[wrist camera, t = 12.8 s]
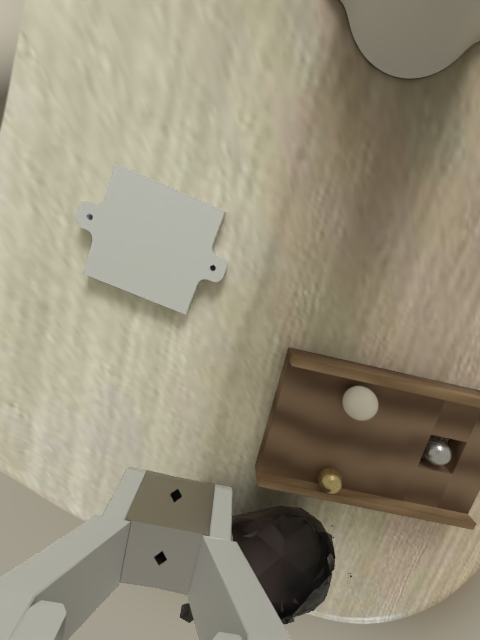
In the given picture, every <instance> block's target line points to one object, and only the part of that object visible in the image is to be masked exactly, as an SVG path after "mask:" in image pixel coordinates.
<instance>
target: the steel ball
mask: <svg viewBox="0 0 480 640" xmlns="http://www.w3.org/2000/svg"><path fill="white" fill-rule="evenodd" d="M423 456H424V457H425V459H426V460H427V461H429V462H430V463H432V464H434V465H445V464H447V463H449V461H450V460H451V457H452V452H451V449H450V447H449V446H448V445H447V444H446V443H445V442H444V441H442V440H440V439H438V438H429V440H428V443H427V445H426V448H425V450H424V452H423Z"/></svg>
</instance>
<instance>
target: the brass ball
mask: <svg viewBox="0 0 480 640" xmlns="http://www.w3.org/2000/svg"><path fill="white" fill-rule="evenodd" d="M318 481H319V485H320V487H321V488H322V489H323V490H324V491H325V492H326V493H329V494H335V493H338V492H339V491H340V490H341V488H342V485H343V481H342V477H341V475H340V473H339V472H338V471H337V470H335V469H334V468H330V467H328V468H324V469H323V470H321V472H320V473H319V477H318Z"/></svg>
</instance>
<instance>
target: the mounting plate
mask: <svg viewBox="0 0 480 640" xmlns="http://www.w3.org/2000/svg"><path fill="white" fill-rule="evenodd" d="M225 214H226V212H225V210H222V209H220V208H218V207H215V206H213V205H211V204H208V203H206V202H204V201H202V200H199V199H197V198H195V197H192V196H190V195H188V194H185V193H183V192H181V191H179V190H176V189H174V188H172V187H169V186H167V185H165V184H162V183H160V182H158V181H155V180H153V179H151V178H149V177H146V176H144V175H142V174H139V173H137V172H135V171H132V170H130V169H128V168H126V167H123V166H121V165H119V164H116V163H115V166H114V169H113V172H112V176H111V179H110V183H109V186H108V189H107V193H106V196H105V199H104V201H103V203H101V204H99V205H96V204H93V203H90V202H82V203H80V205H79V206H78V210H77V213H76V218H75V219H76V223H77V224H78V226H80V227H81V228H83V229H86V230H88V231H89V232H90V233H91V235H92V239H93V240H92V244H91V247H90V251H89V254H88V258H87V261H86V264H85V268H84V271H83V274H85V275H87V276H90V277H92V278H95V279H97V280H100V281H102V282H105V283H107V284H110V285H112V286H115V287H117V288H120V289H122V290H125V291H127V292H130V293H132V294H135V295H137V296H140V297H142V298H145V299H147V300H150V301H152V302H155V303H157V304H160V305H162V306H165V307H167V308H170V309H172V310H175V311H177V312H180V313H182V314H185V315H186V314H187V313H188V311H189V308H190V306H191V303H192V300H193V298H194V295H195V293H196V290H197V287H198V285H199V282H200V281H201V280H203V279H207V280H210V281H212V282H219V281H220V280H221V279H222V278H223V277H224V274H225V272H226V269H227V262H226V260H225V259H224V258H222V257H219V256H217V255H216V254H215V253H214V250H213V246H214V243H215V240H216V237H217V235H218V232H219V230H220V227H221V224H222V222H223V219H224V216H225ZM212 265H214V266H215V267H216V270H215V271H214V270H212V269H211V266H212Z"/></svg>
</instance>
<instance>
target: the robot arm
mask: <svg viewBox="0 0 480 640" xmlns="http://www.w3.org/2000/svg"><path fill="white" fill-rule="evenodd" d="M340 1H341V2H342V3H343V5H344V7H345V9H346V12H347V16H348V20H349V24H350V28H351V31H352V34H353V37H354V39H355V42H356V44H357V45H358V47H359V49H360V51H361V52H362V53H363V55H364V56H365V57H366V58H367V59H368V61H369V62H370V63H372V64H373V65H374V66H375V67H376V68H378V69H379V70H381V71H383V72H385V73H387V74H389V75H392V76H395V77H399V78H421V77H425V76H429V75H432V74H434V73H437V72H439V71H441V70H443V69H444V68H446V67H447V66H449V65H450V64H452V63H453V62H454V61H455V60H457V59H458V58H459V57H460V56H461V55H462V54H463V53H464V52H465V51H466V50H467V49H468V48H469V47H470V46H472V45H473V44H474V43H476V42H479V41H480V0H340ZM232 495H233V490H232V487H228V486H222V485H217V484H215V485H214V484H210V483H205V482H200V481H194V480H189V479H184V478H179V477H175V476H170V475H166V474H162V473H157V472H153V471H148V470H147V471H146V470H142V469H138V468H134V467H129V468H128V469H127V470H126V472H125V474H124V476H123V477H122V479H121V481H120V483H119V485H118V487H117V489H116V490H115V492H114V494H113V496H112V498H111V500H110V502H109V504H108V505H107V507H106V509H105V511H104V513H103V515H102V516H100V515H95V516H93V517H92V518H90V519H89V520H87V521H86V522H84V523H83V524H81V525H80V526H78V527H77V528H75V529H74V530H72V531H71V532H69V533H67V534H66V535H64V536H63V537H61V538H60V539H58V540H57V541H55V542H54V543H52V544H51V545H49V546H48V547H46V548H44V549H43V550H41V551H40V552H38V553H37V554H36V555H34V556H32V557H31V558H29V559H28V560H26V561H25V562H23V563H22V564H20V565H18V566H17V567H16V568H14V569H12V570H11V571H9V572H8V573H6V574H5V575H3V576H2V577H0V640H68V639H69V638H70V637H71V635H72V634H73V633H74V632H75V631H76V630H77V629H78V628H79V627H80V626H81V625H82V624H83V623H84V622H85V621H86V620H87V618H88V617H89V616H90V615H91V614H92V613H93V612H94V611H95V610H96V609H97V608H98V607H99V606H100V604H102V602H103V601H104V600H105V599H106V598H107V597H108V596H109V595H110V594H111V593H112V592H113V591H114V590H115V589H116V587H117V586H118V585H119V582H121V583H127V584H135V585H141V586H148V587H154V586H155V587H154V588H159V589H163V590H168V591H172V592H177V593H182V594H186V595H188V601H189V604H190V608H191V612H192V615H193V619H194V622H195V626H196V629H197V633H198V636H199V640H292V639H291V637H290V636H289V634H288V632H287V630H286V629H285V627H284V625H283V623H282V621H281V620H280V618H279V616H278V614H277V613H276V611H275V609H274V607H273V606H272V604H271V602H270V600H269V598H268V597H267V595H266V593H265V591H264V590H263V588H262V586H261V584H260V582H259V581H258V579H257V577H256V575H255V574H254V572H253V570H252V568H251V567H250V565H249V563H248V561H247V559H246V558H245V556H244V554H243V552H242V551H241V549H240V547H239V545H238V544H237V542H234V541H231V527H232Z"/></svg>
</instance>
